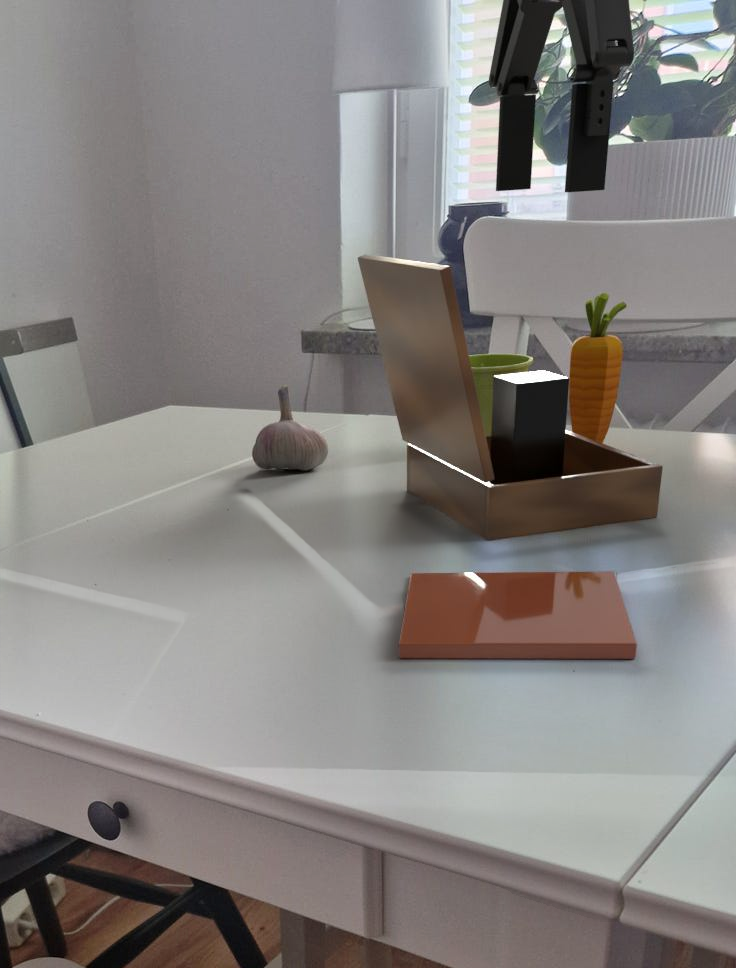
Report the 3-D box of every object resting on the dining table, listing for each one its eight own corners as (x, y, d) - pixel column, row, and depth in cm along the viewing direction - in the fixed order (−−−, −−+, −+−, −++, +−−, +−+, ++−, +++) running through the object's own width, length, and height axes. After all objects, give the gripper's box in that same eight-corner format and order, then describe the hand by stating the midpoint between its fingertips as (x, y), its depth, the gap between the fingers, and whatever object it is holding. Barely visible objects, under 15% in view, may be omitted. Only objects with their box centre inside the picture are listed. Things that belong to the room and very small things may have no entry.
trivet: (613, 585, 81) (614, 570, 80) (635, 659, 69) (637, 643, 68) (410, 586, 83) (410, 572, 83) (398, 658, 71) (398, 643, 71)
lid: (366, 253, 94) (357, 257, 94) (450, 265, 79) (440, 270, 79) (410, 436, 102) (402, 440, 102) (495, 479, 87) (485, 483, 87)
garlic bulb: (239, 470, 119) (234, 387, 115) (296, 457, 122) (292, 376, 118) (284, 481, 113) (280, 394, 109) (342, 467, 117) (340, 382, 113)
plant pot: (417, 455, 119) (418, 365, 115) (466, 438, 125) (469, 351, 121) (497, 464, 114) (502, 369, 109) (545, 445, 120) (550, 354, 115)
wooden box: (553, 479, 107) (556, 426, 105) (656, 526, 92) (663, 465, 90) (406, 497, 105) (406, 443, 102) (487, 549, 90) (490, 487, 87)
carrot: (572, 456, 115) (585, 288, 107) (621, 460, 112) (638, 288, 105) (552, 467, 111) (564, 294, 104) (602, 471, 109) (618, 294, 101)
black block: (536, 493, 101) (544, 370, 95) (560, 505, 97) (569, 377, 92) (488, 500, 100) (493, 375, 95) (510, 512, 96) (516, 383, 91)
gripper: (454, -127, 89) (446, 192, 100) (598, -223, 68) (568, 195, 78) (547, -129, 90) (529, 186, 101) (717, -225, 69) (671, 188, 79)
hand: (546, 191), depth 89 cm, fingers open, 13 cm apart
